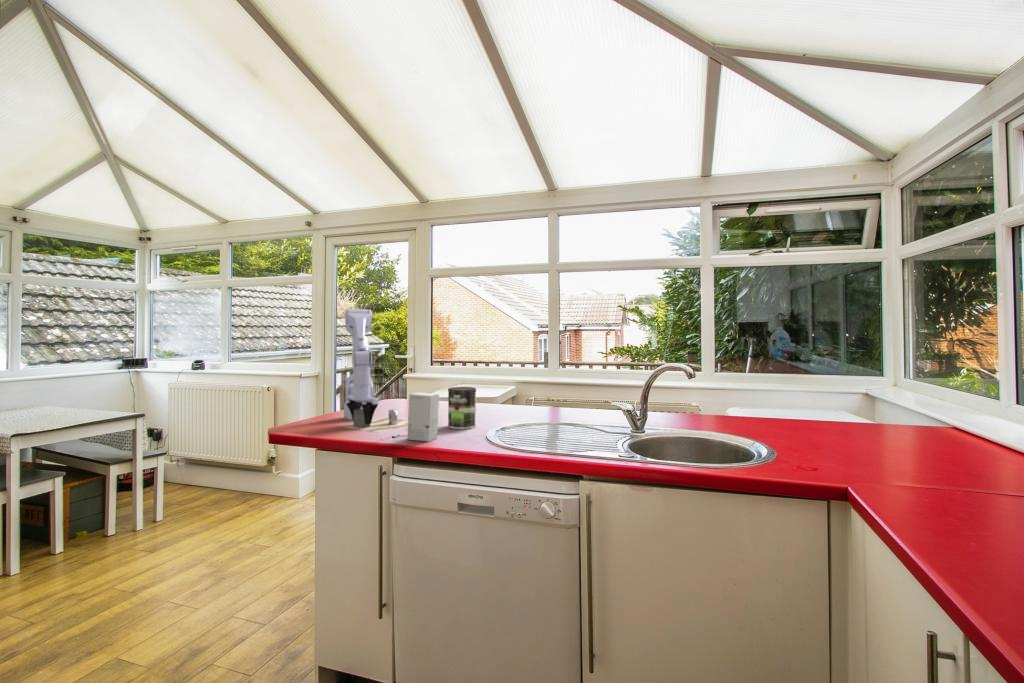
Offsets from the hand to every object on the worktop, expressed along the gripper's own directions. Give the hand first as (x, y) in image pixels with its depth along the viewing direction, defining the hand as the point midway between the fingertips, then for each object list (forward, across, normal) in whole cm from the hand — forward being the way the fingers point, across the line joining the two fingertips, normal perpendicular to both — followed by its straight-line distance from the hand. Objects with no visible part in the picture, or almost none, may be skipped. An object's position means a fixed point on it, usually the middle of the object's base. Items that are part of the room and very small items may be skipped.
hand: (362, 422), depth 168 cm
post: (+2, +7, +8) cm, 11 cm away
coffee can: (+3, +26, +24) cm, 35 cm away
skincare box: (+3, +28, +1) cm, 28 cm away
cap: (+1, 0, 0) cm, 1 cm away
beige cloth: (+2, +4, +6) cm, 7 cm away
